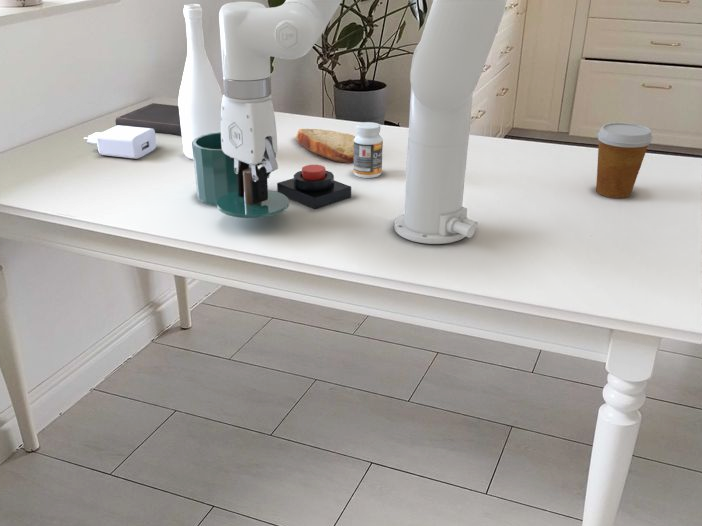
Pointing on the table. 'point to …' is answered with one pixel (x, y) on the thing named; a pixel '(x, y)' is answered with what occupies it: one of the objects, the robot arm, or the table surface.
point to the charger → (124, 141)
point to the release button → (313, 172)
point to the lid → (244, 206)
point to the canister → (212, 169)
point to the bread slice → (328, 144)
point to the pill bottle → (368, 150)
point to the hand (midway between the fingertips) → (252, 197)
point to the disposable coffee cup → (620, 157)
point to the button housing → (314, 190)
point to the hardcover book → (154, 118)
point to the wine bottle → (198, 86)
